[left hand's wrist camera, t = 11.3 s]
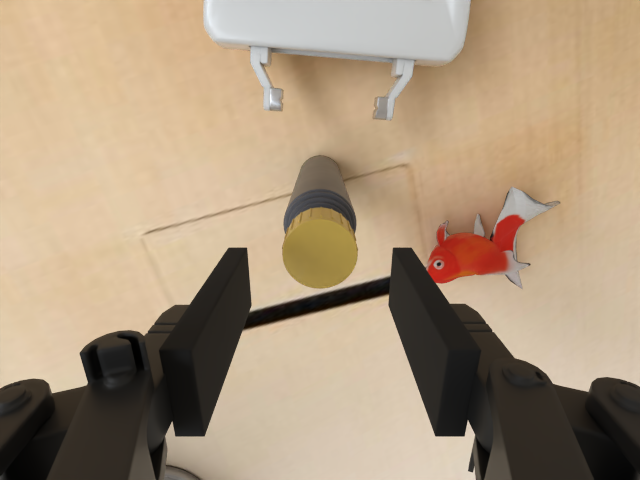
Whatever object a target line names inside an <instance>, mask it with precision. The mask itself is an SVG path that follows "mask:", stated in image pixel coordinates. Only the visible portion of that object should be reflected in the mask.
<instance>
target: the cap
mask: <svg viewBox="0 0 640 480" xmlns="http://www.w3.org/2000/svg"><path fill="white" fill-rule="evenodd" d="M284 239H285V240H284V243H283V247H282V249H283V261H284V265H285V267H286V269H287V271H288V272H289V274H290V275H291V276H292V277H293V278H294V279H295V280H296V281H298V282H299V283H301V284H303V285H305V286H308V287H312V288H328V287H332V286H335V285H337V284H339V283H341V282H342V281H344V280H345V279H346V278H347V277H348V276H349V275H350V274H351V273H352V271H353V269H354V267H355V265H356V261H357V251H358V248H357V245H356V238H355V234H354V231H353V229H352V228H351V226H350V224H349V221H347V220H346V219H345V218H344V217H343V216H342V214H341V213H338V212H336V211H334V210H332V209H328V208H322V207H320V208H312V209H311V208H310V209H309V210H306V211H304V212H301V213H300V214H299V215H298V216H297V217H296V218H295V219H293V220H292V223H291V224H290V226H289V227H288V228H287V231H286V235H285V238H284Z"/></svg>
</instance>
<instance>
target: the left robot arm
mask: <svg viewBox="0 0 640 480" xmlns="http://www.w3.org/2000/svg"><path fill="white" fill-rule="evenodd" d="M250 308H251V292H250V280H249V267H248V254H247V248H228V249H227V251H226V252H225V254H224V255H223V257H222V258H221V260H220V261H219V263H218V264H217V266H216V267H215V268H214V270H213V271H212V273H211V274H210V276H209V277H208V279H207V280H206V282H205V283H204V285H203V286H202V287H201V289H200V290H199V292H198V293H197V295H196V296H195V298H194V299H193V301H192V302H191V304H190V305H174V306H173V307H171V308H170V309H168V310H167V311H165V312H164V313H162V314H161V316H160V317H159V318H158V319H157V321H156V322H155V324H154V325H153V326H152V327H151V328H150V330H149V331H148V333H146V335H145V336H143V335H142V334H141V333H139V332H136V331H131V330H128V331H117V332H113V333H109V334H106V335H104V336H102V337H99V338H97V339H95V340H93V341H92V342H90V343H89V344H88V345H86V346H85V347H84V348H83V350H82V351H81V352H80V356H81V360H82V363H83V367H84V370H85V373H86V377H87V380H88V384H87V386H83V387H80V388H75V389H71V390H66V391H61V392H57V393H52V392H51V389H50V386H49V384H48V383H47V382H46V381H44V380H41V379H28V380H22V381H18V382H15V383H11V384H9V385H6V386H4V387H3V388H1V389H0V480H199V479H198V478H196V477H195V476H193V475H192V474H190V473H188V472H186V471H184V470H181V469H178V468H174V467H170V466H166V457H167V444H166V439H165V435H166V433H167V431H168V429H169V426H170V424H171V422H172V421H173V426H174V431H175V436H205V434H206V431H207V428H208V425H209V422H210V420H211V417H212V414H213V411H214V408H215V406H216V403H217V400H218V397H219V394H220V392H221V389H222V386H223V383H224V381H225V378H226V375H227V372H228V369H229V367H230V364H231V361H232V358H233V355H234V353H235V350H236V347H237V344H238V342H239V339H240V336H241V333H242V330H243V328H244V325H245V322H246V319H247V316H248V314H249V311H250ZM389 308H390V311H391V314H392V316H393V319H394V322H395V325H396V328H397V330H398V333H399V336H400V339H401V342H402V344H403V347H404V350H405V353H406V355H407V358H408V361H409V364H410V367H411V369H412V372H413V375H414V378H415V381H416V383H417V386H418V389H419V392H420V394H421V397H422V400H423V403H424V406H425V408H426V411H427V414H428V417H429V420H430V422H431V425H432V428H433V431H434V434H435V436H465V431H466V426H467V421H469V423H470V425H471V427H472V429H473V431H474V433H475V439H474V443H473V448H472V453H471V458H470V462H469V469H468V471H469V472H473V470H474V466H475V475H476V480H640V387H639V386H637V385H636V384H633V383H631V382H627V381H624V380H621V379H616V378H609V377H604V378H597V379H596V380H594V381H593V382H592V384H591V386H590V389H589V392H586V391H581V390H576V389H572V388H567V387H563V386H559V385H555V384H553V383H552V382H551V380H550V379H549V377H548V376H547V375H546V374H545V373H544V372H543V371H542V370H540V369H539V368H538V367H536V366H534V365H532V364H530V363H528V362H526V361H522V360H519V359H515V358H514V357H513V356H512V354H511V353H510V352H509V351H508V349H507V348H506V347H505V346H504V344H503V343H502V342H501V341H500V339H499V338H498V337H497V336H496V334H495V333H494V332H492V329H491V328H490V327H489V326H488V324H486V322H485V320H484V319H483V318H482V317H481V315H480V314H479V313H478V312H477V311H475V310H474V309H472V308H471V307H469V306H468V305H466V304H449V302H448V301H447V299H446V298H445V296H444V295H443V293H442V292H441V290H440V289H439V287H438V286H437V285H436V283H435V282H434V280H433V279H432V277H431V276H430V274H429V273H428V271H427V270H426V268H425V267H424V266H423V264H422V263H421V261H420V260H419V258H418V257H417V255H416V254H415V252H414V251H413V249H412V248H393V254H392V267H391V280H390V292H389Z"/></svg>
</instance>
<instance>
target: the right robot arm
mask: <svg viewBox="0 0 640 480" xmlns="http://www.w3.org/2000/svg"><path fill="white" fill-rule="evenodd" d="M470 4H471V0H204V10H203V21H204V28H205V30H206V32H207V33H208V35H209V36H210V38H211V39H212V40H213V41H214V42H215V43H216V44H217V45H219V46H220V47H222V48H225V49H234V50H245V51H250V63H251V65H252V67H253V69H254V71H255V73H256V75H257V77H258V79H259V81H260V83H261V85H262V87H264V110H268V111H281V112H282V111H283V103H282V99H283V92H284V90H282V89H279V88H274V87H273V85H272V83H271V80H270V78H269V76H268V74H267V72H266V70H265V68H264V66H265V67H270V66H271V54H272V53H281V54H292V55H304V56H316V57H327V58H339V59H351V60H363V61H374V62H386V63H392V70H391V77H394V78H396V77H397V79H396V81H395V82H394V84H393V85H392V87H391V88H390V90H389V91H388V93H387V94H386V96H385V97H376V98H375V101H374V107H375V110H374V111H373V119H379V120H392V117H393V111H394V104H395V98H397V97H398V96H399V94H400V93H401V91H402V90H403V89H404V87H405V86H406V84H407V83H408V82H409V80H410V79H411V77H412V74H413V68H414V65H421V66H433V67H440V66H443V65H446V64H448V63H450V62H451V61H452V60H454V59H455V58H456V57H457V55H458V54H459V53H460V52H461V51H462V49H463V46H464V42H465V38H466V33H467V27H468V20H469V13H470Z"/></svg>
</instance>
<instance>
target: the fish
mask: <svg viewBox="0 0 640 480" xmlns="http://www.w3.org/2000/svg"><path fill="white" fill-rule="evenodd" d="M558 204H560V202H559V201H554V202H549V203H546V204H543V203H540V202H538V201H536V200H534V199H532V198H531V197H530V196H529V195H527V194H526V193H525V192H523V191H521V190H518V189H516V188H514V187H511V189H510V190H509V192H508V193H507V196H506V199H505V203H504V206H503V209H502V211H501V213H500V215H499V218H498V220H497V222H496V225H495V227H494V230H493V232H492V234H491V237H490V240H488V239H486V238H484V237H485V232H484V229H483V226H482V223H481V220H480V216H479V214H477V217H476V220H475V224H474V234H472V233H458V234H453V235H449V234H448V233H447V231H446V227H447V225H448V221H446V222H445V223H443V224H441V225H440V226H439V229H438V231H437V241H438V244H437V245H436V247H435V248H434V250H433V251H432V253H431V255H430V258H429V260H428V263H427V268H426V270H427V271H428V273H429V274H430V276H431V277H432V279H433V280H434V282H435V283H447V282H450V281H452V280H454V279H456V278H458V277H463V276H471V275H475V274H476V275H502V274H505V275H506V276H507V278H508V279H509V280H510V281H511V282H513V283H514V284H516V285H517V286H518V287H520V288H521V289H522V284H521V280H520V276H519V272H518V270H521V269H523V268H525V267H527V266H529V265H531V264H529V263H520V262H517V254H516V236H517V232H518V229H519V227H520V226H521V225H522V224H524V223H525V222H527V221H528V220H530V219H532V218H533V217H535V216H537V215H539V214H541V213H543V212H545V211H547V210H549V209H550V208H552V207H554V206H556V205H558Z"/></svg>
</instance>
